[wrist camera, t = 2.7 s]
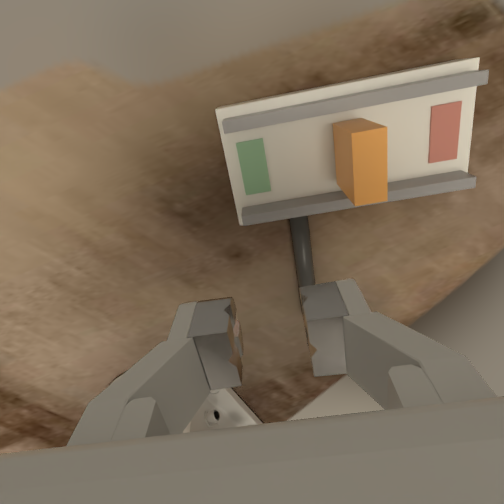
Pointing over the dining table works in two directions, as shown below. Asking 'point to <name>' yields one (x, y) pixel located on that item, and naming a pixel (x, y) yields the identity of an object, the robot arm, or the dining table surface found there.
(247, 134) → the switch box
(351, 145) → the toggle
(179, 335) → the robot arm
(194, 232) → the dining table surface
